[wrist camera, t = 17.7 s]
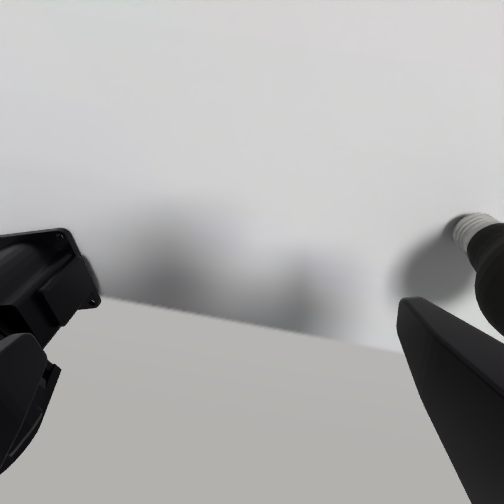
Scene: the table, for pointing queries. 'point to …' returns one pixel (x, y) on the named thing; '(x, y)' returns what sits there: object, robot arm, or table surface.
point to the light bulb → (485, 262)
